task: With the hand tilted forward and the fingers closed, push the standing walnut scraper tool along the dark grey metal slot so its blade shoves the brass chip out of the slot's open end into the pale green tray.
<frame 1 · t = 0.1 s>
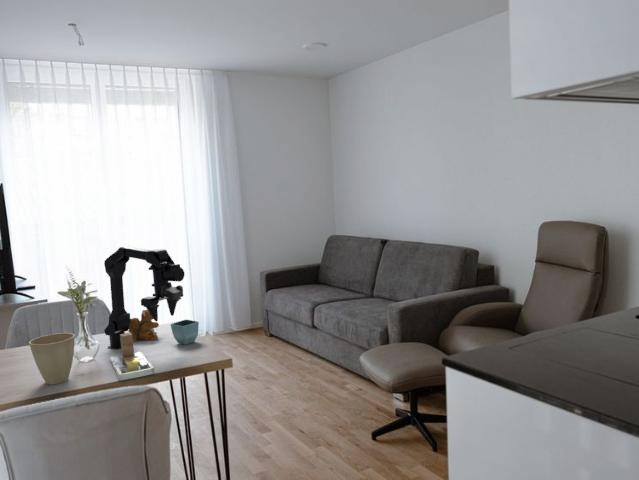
hand: (164, 318, 228), 15 cm above the table, tool pointing down, fingers open, 9 cm apart
chip tray: (135, 376, 203), on the table
stuffed squirrel: (144, 339, 253), on the table
slot bed: (129, 366, 215), on the table
scraper: (129, 363, 216), point 1 cm above the table, touching slot bed
plant pot: (57, 381, 203), on the table
flower pot: (186, 343, 243), on the table
brass chip: (132, 368, 209), point 1 cm above the table, touching slot bed
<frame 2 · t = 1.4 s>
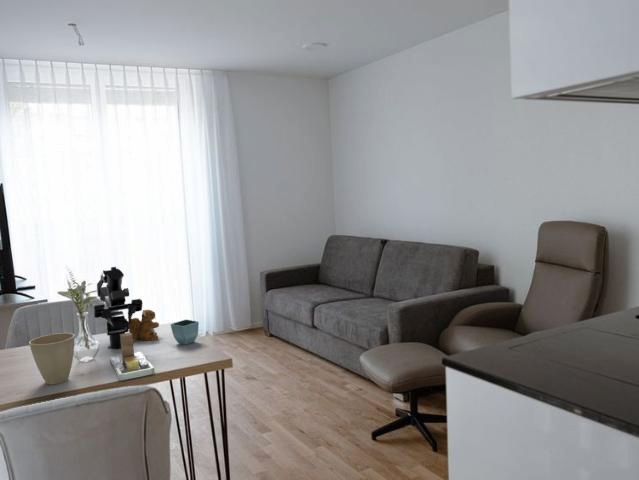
hand: (121, 325, 225), 14 cm above the table, tool tilted 45°, fingers open, 6 cm apart
nothing on the table moved.
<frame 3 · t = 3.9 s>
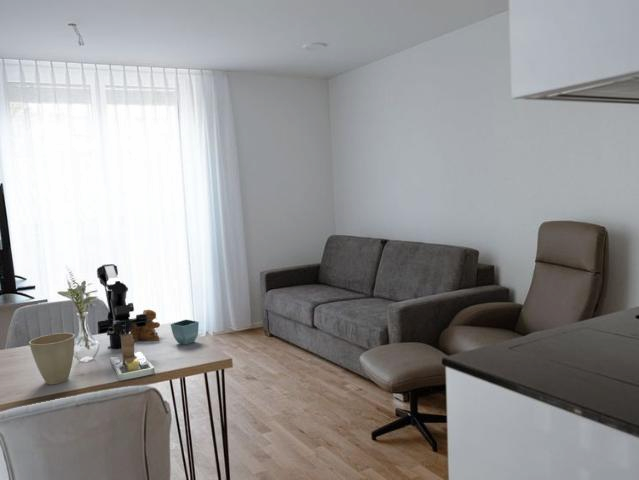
hand: (126, 341, 217), 9 cm above the table, tool tilted 45°, fingers closed, pressing on scraper
scraper: (130, 364, 214), point 1 cm above the table, touching gripper, slot bed
brass chip: (132, 369, 209), point 1 cm above the table
everything else where it was.
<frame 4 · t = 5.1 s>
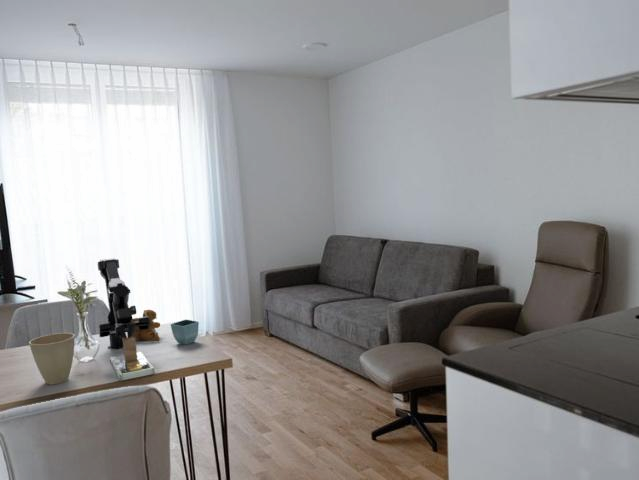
hand: (128, 345, 212), 9 cm above the table, tool tilted 45°, fingers closed, pressing on scraper
scraper: (132, 368, 209), point 1 cm above the table, touching gripper
brass chip: (135, 374, 203), point 1 cm above the table
everything else where it was.
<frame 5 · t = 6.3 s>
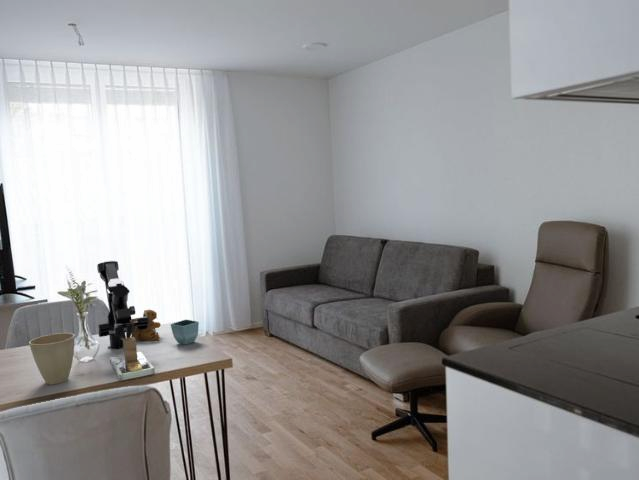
hand: (127, 345, 215), 8 cm above the table, tool tilted 45°, fingers closed
scraper: (132, 368, 209), point 1 cm above the table, touching slot bed
brass chip: (135, 374, 203), point 1 cm above the table, touching chip tray
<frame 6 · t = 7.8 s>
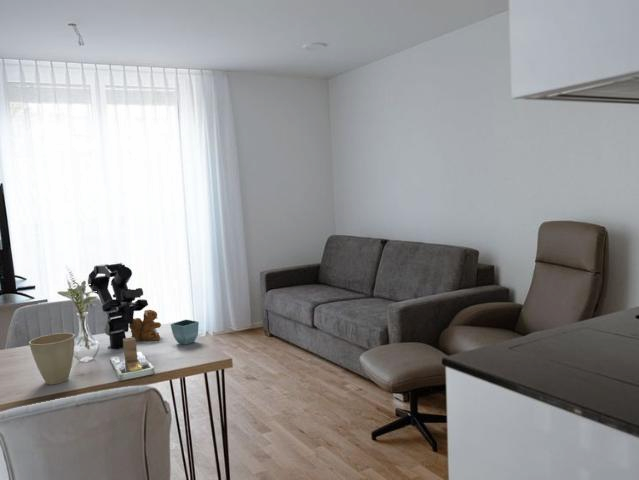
hand: (131, 323, 226), 13 cm above the table, tool tilted 35°, fingers closed
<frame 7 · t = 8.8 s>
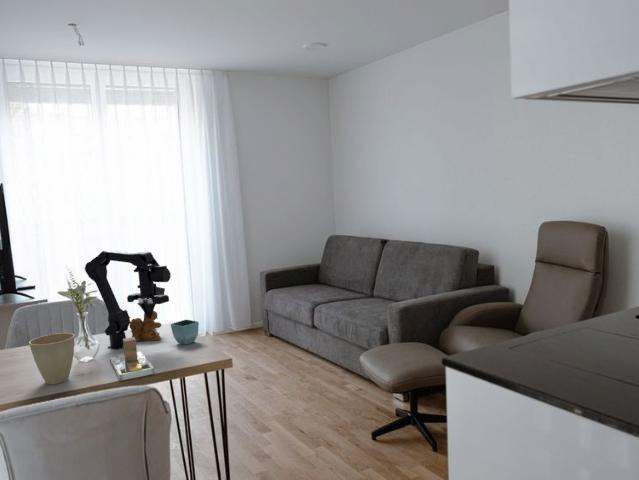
hand: (149, 318, 236), 13 cm above the table, tool pointing down, fingers closed
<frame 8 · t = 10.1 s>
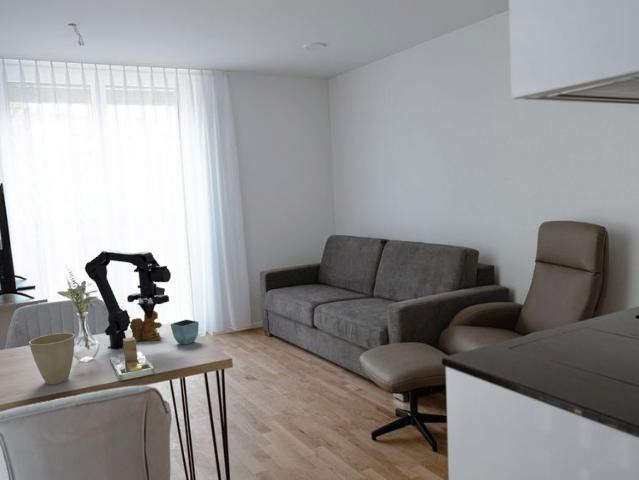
hand: (149, 318, 236), 13 cm above the table, tool pointing down, fingers closed
at the end: brass chip 0.4 cm from the chip tray (horizontally); brass chip point 0.8 cm above the table; scraper tilted 0° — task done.
